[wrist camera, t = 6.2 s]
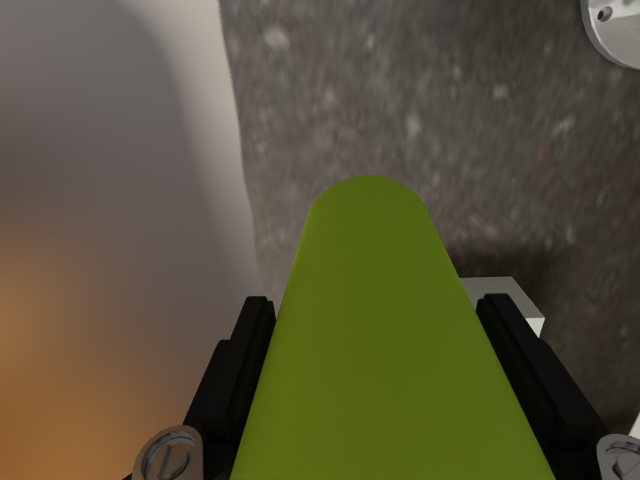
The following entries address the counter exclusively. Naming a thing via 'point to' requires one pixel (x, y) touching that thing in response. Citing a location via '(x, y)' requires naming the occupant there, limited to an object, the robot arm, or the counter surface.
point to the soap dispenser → (381, 358)
